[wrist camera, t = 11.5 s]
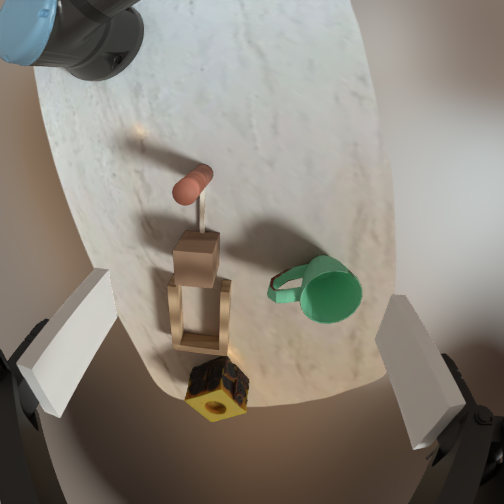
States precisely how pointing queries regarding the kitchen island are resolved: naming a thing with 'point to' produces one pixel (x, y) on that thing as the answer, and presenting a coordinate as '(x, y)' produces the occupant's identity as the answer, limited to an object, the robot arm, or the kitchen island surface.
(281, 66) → the kitchen island surface
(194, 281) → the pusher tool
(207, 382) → the toy block
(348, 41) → the kitchen island surface
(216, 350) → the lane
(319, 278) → the mug
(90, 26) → the robot arm
